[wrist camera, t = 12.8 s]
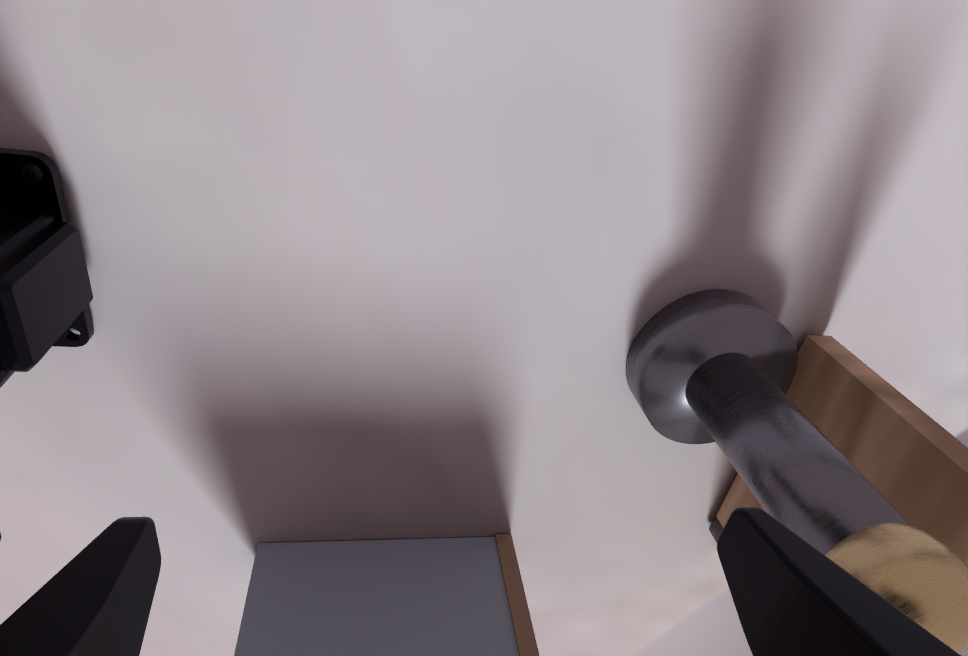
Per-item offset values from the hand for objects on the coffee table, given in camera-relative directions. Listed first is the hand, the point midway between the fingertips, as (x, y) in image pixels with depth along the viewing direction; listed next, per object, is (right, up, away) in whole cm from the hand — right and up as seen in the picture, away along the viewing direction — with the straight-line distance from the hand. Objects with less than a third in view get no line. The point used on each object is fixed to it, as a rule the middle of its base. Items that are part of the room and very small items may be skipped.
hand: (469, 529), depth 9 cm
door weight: (+9, +2, +16) cm, 19 cm away
